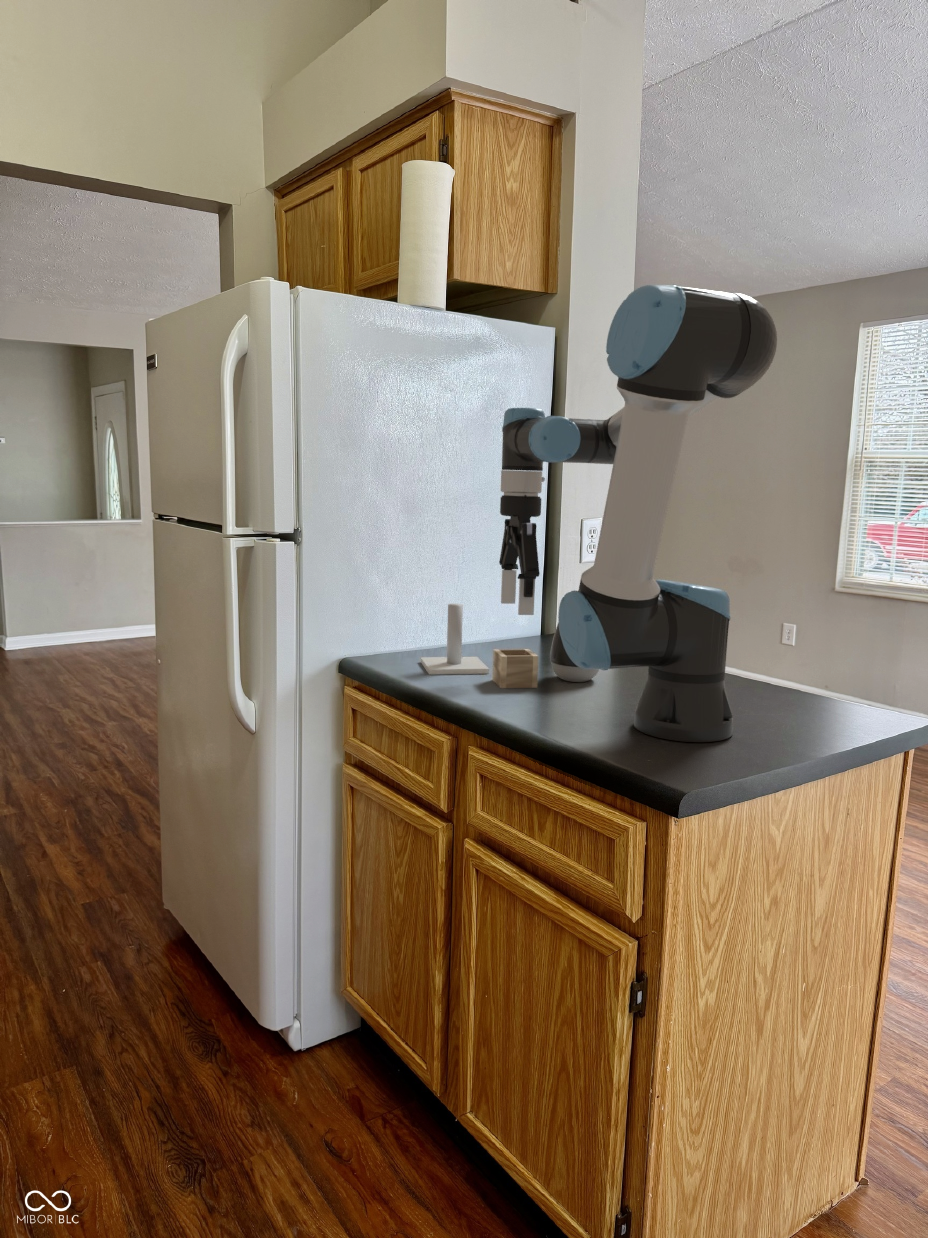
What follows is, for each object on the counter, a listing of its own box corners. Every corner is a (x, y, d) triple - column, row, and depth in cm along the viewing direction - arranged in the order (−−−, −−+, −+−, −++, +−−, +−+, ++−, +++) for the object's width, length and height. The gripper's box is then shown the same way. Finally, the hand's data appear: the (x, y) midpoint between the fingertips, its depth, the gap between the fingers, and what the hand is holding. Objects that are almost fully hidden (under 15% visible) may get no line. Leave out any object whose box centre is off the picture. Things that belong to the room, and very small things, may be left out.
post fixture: (488, 673, 175) (490, 609, 173) (429, 674, 173) (430, 609, 171) (476, 661, 187) (478, 600, 185) (420, 662, 185) (421, 600, 183)
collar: (537, 687, 164) (538, 656, 164) (500, 688, 163) (501, 656, 162) (527, 679, 171) (528, 648, 170) (492, 679, 170) (493, 649, 169)
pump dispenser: (599, 674, 177) (603, 599, 175) (602, 686, 167) (606, 607, 165) (549, 672, 178) (552, 597, 176) (548, 683, 168) (552, 604, 166)
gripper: (560, 497, 150) (554, 619, 154) (523, 493, 174) (519, 599, 178) (518, 496, 149) (513, 620, 152) (486, 492, 173) (483, 599, 177)
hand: (516, 609), depth 165 cm, fingers open, 13 cm apart
